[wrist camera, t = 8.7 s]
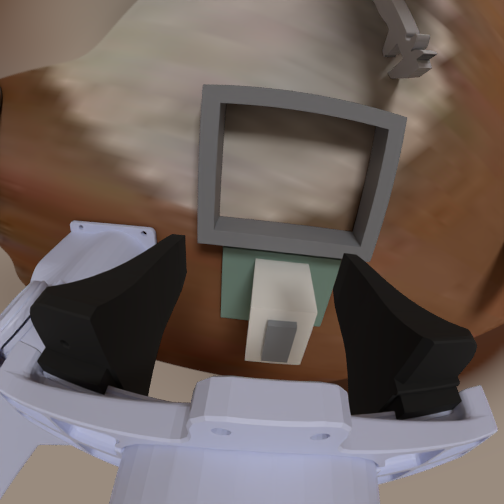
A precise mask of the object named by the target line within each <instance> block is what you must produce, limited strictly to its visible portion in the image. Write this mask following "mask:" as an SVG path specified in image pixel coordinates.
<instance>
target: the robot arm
mask: <svg viewBox="0 0 504 504" xmlns="http://www.w3.org/2000/svg"><path fill="white" fill-rule="evenodd" d="M81 225H82V226H83V228H82V226H81ZM70 227H71V233H70V234H68V235H67V236H66V237H65V238H64V239H63V240H62V241H61V242H60V243H59V244H57V245H56V246H55V247H54V248H53V249H52V250H51V251H50V252H49V253H48V254H47V255H46V256H45V257H44V258H43V259H42V260H41V261H40V262H39V263H38V265H37V266H36V268H35V270H34V272H33V275H32V278H31V283H30V284H29V285H27V286H26V287H25V288H24V289H23V290H22V291H21V292H20V293H19V294H18V295H17V296H16V297H15V298H14V299H13V301H12V302H11V303H10V304H9V305H8V306H7V307H6V309H5V310H4V311H3V312H2V313H1V315H0V499H1V498H2V496H3V494H4V493H5V492H6V490H7V489H8V487H9V486H10V484H11V482H12V481H13V480H14V479H15V477H16V476H17V474H18V473H19V471H20V470H21V469H22V467H23V466H24V464H25V463H26V461H27V460H28V459H29V457H30V456H31V455H32V453H33V452H34V451H35V449H36V448H37V446H38V445H72V446H74V447H76V448H78V449H80V450H82V451H84V452H86V453H88V454H90V455H92V456H94V457H96V458H99V459H101V460H103V461H105V462H108V463H110V464H113V465H115V466H118V467H119V468H118V472H117V476H116V479H115V483H114V487H113V490H112V494H111V498H110V502H109V504H380V497H379V487H378V484H382V483H386V482H390V481H394V480H397V479H400V478H403V477H407V476H410V475H413V474H416V473H419V472H422V471H425V470H428V469H431V468H433V467H436V466H439V465H442V464H444V463H447V462H449V461H452V460H454V459H457V458H460V457H462V456H463V455H465V454H466V453H468V452H469V451H471V450H472V449H474V448H475V447H477V446H478V445H480V444H481V443H482V442H484V441H485V440H486V439H488V438H489V437H491V435H493V434H494V433H496V432H497V430H498V428H497V426H496V423H495V420H494V417H493V414H492V411H491V409H490V406H489V404H488V401H487V399H486V396H485V393H484V391H483V389H482V386H481V385H478V386H475V387H471V388H466V389H464V390H462V391H460V392H458V390H457V387H456V386H458V385H459V384H460V381H459V379H458V375H459V374H460V373H461V372H462V371H463V369H464V368H465V367H466V366H467V365H468V363H469V362H470V361H471V359H472V358H473V356H474V354H475V352H476V348H477V344H476V342H475V340H474V338H473V336H472V334H471V333H470V331H469V330H468V329H466V328H463V327H460V326H458V325H455V324H453V323H450V322H448V321H446V320H444V319H442V318H440V317H438V316H436V315H434V314H432V313H430V312H429V311H427V310H425V309H424V308H422V307H420V306H419V305H417V304H416V303H414V302H413V301H411V300H410V299H408V298H407V297H406V296H404V295H403V294H402V293H400V292H399V291H398V290H396V289H395V288H394V287H393V286H392V285H390V284H389V283H388V282H387V281H386V280H385V279H384V278H382V277H381V276H380V275H379V274H378V273H377V272H376V271H375V270H374V269H373V268H372V267H370V266H369V265H368V264H367V263H366V262H365V261H364V260H363V259H361V258H360V257H359V256H358V255H356V254H348V253H344V254H343V258H342V261H341V264H340V268H339V271H338V274H337V277H336V281H335V284H334V287H333V294H334V303H335V309H336V313H337V317H338V321H339V325H340V329H341V333H342V337H343V341H344V346H345V351H346V360H347V371H348V393H349V394H348V395H347V392H346V391H345V390H343V389H342V388H341V387H340V386H338V385H336V384H330V383H325V382H312V381H287V380H272V379H260V378H249V377H239V376H212V377H210V378H207V379H204V380H202V381H199V382H197V384H196V386H195V388H194V391H193V395H192V400H191V403H181V402H178V403H177V402H170V401H165V400H161V399H156V398H152V397H148V393H149V388H150V383H151V378H152V373H153V369H154V364H155V360H156V356H157V352H158V349H159V345H160V342H161V338H162V335H163V332H164V329H165V327H166V324H167V322H168V320H169V318H170V315H171V313H172V311H173V309H174V306H175V304H176V302H177V300H178V297H179V295H180V293H181V290H182V287H183V284H184V280H185V277H186V273H187V270H186V247H185V235H176V234H172V235H170V236H168V237H166V238H165V239H163V240H162V241H160V242H158V243H157V241H156V232H155V230H154V229H153V228H151V227H141V226H130V225H119V224H108V223H96V222H85V221H73V222H71V224H70ZM143 231H145V232H146V233H147V234H144V233H143Z"/></svg>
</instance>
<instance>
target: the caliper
mask: <svg viewBox="0 0 504 504" xmlns="http://www.w3.org/2000/svg"><path fill="white" fill-rule="evenodd" d="M373 2H374V3H375V5H376V7H377V10H378V12H379V14H380V16H381V17H382V18H383V20H384V21H385V22H386V24H387V26H388V29H389V31H388V35H387V38H386V41H385V44H384V47H383V50H382V52H383V56H384V57H395V56H396V55H398V54H400V53H401V55H402V57H403V59H402V60H401V61H400V62H399V63H398V64H397V65H396V66H395V67H394V68H393V69H392V70H391V71H390V72H388V74H389V76H390V78H413V77H420V76H422V75H423V74H424V73H426V72H427V71H429V70H430V69H431V68H432V67H431V64H430V60H429V59H431V58H432V57H434V56H435V55H437V53H436V52H435V51H432V50H425V49H426V48H427V46H428V43H429V40H430V35H428V34H420V33H419V30H418V27H417V25H416V23H415V21H414V19H413V17H412V14H411V12H410V10H409V8H408V6H407V4H406V2H405V1H404V0H373Z"/></svg>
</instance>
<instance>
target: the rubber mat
mask: <svg viewBox="0 0 504 504" xmlns="http://www.w3.org/2000/svg"><path fill="white" fill-rule="evenodd" d="M256 258H257V259H266V260H276V261H285V262H294V263H304V264H309V268H310V273H311V278H312V284H313V289H314V295H315V301H316V307H317V316H316V319H315V322H314V325H313V326H320V324H321V322H322V319H323V316H324V313H325V310H326V307H327V304H328V301H329V298H330V295H331V292H332V289H333V286H334V283H335V280H336V277H337V273H338V270H339V267H340V263H341V259H340V258H331V257H322V256H313V255H304V254H295V253H286V252H277V251H268V250H259V249H249V248H240V247H231V246H223V264H222V292H221V317H225V318H233V319H242V320H249V313H250V304H251V295H252V287H253V278H254V269H255V260H256Z"/></svg>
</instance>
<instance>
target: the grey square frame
mask: <svg viewBox="0 0 504 504" xmlns="http://www.w3.org/2000/svg"><path fill="white" fill-rule="evenodd" d="M226 103H233V104H247V105H259V106H269V107H278V108H286V109H293V110H300V111H306V112H313V113H318V114H324V115H329V116H335V117H339V118H344V119H349V120H353V121H358V122H362V123H366V124H370V125H374V126H376V130H375V136H374V141H373V146H372V151H371V157H370V161H369V166H368V171H367V176H366V180H365V184H364V189H363V193H362V197H361V201H360V205H359V209H358V213H357V217H356V221H355V225H354V228H353V232H349V231H342V230H335V229H327V228H319V227H312V226H304V225H295V224H287V223H279V222H270V221H261V220H252V219H242V218H233V217H223V216H219V214H220V192H221V174H222V157H223V141H224V127H225V114H226ZM406 121H407V117H404V116H401V115H398V114H394V113H391V112H388V111H384V110H381V109H377V108H373V107H370V106H366V105H362V104H358V103H354V102H349V101H345V100H340V99H336V98H331V97H325V96H320V95H314V94H308V93H302V92H296V91H288V90H280V89H272V88H262V87H250V86H235V85H203V90H202V104H201V120H200V140H199V166H198V243H203V244H213V245H222V246H231V247H240V248H249V249H259V250H268V251H277V252H286V253H295V254H304V255H313V256H322V257H331V258H340V259H342V258H343V254H344V253H348V254H356V255H358V256H359V257H360V258H361V259H363V260H364V261H366V262H370V260H371V257H372V254H373V251H374V248H375V245H376V242H377V239H378V236H379V233H380V229H381V226H382V223H383V219H384V216H385V213H386V209H387V206H388V202H389V198H390V194H391V191H392V187H393V183H394V179H395V175H396V170H397V166H398V162H399V157H400V153H401V148H402V143H403V138H404V132H405V127H406Z"/></svg>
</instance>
